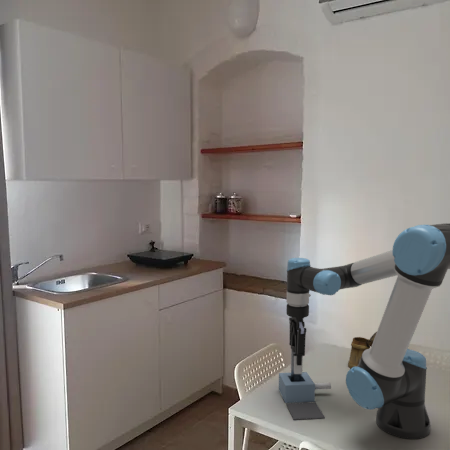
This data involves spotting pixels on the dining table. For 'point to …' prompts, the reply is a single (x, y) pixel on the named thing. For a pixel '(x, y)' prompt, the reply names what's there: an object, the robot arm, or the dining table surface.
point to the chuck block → (299, 388)
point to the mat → (305, 411)
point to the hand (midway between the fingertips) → (296, 370)
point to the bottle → (293, 376)
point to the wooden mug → (359, 349)
